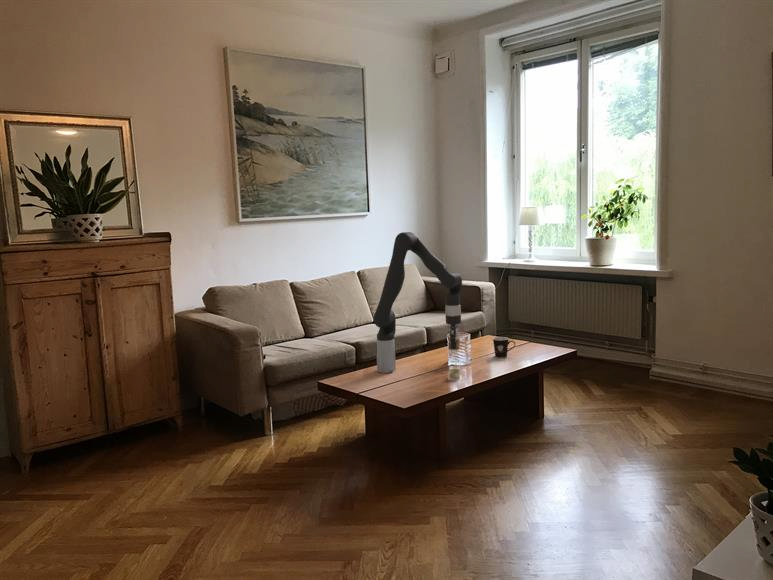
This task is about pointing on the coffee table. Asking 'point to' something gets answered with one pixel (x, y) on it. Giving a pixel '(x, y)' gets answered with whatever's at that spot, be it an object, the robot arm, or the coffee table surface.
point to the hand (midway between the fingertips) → (454, 347)
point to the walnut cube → (456, 343)
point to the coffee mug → (501, 346)
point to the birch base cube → (454, 372)
